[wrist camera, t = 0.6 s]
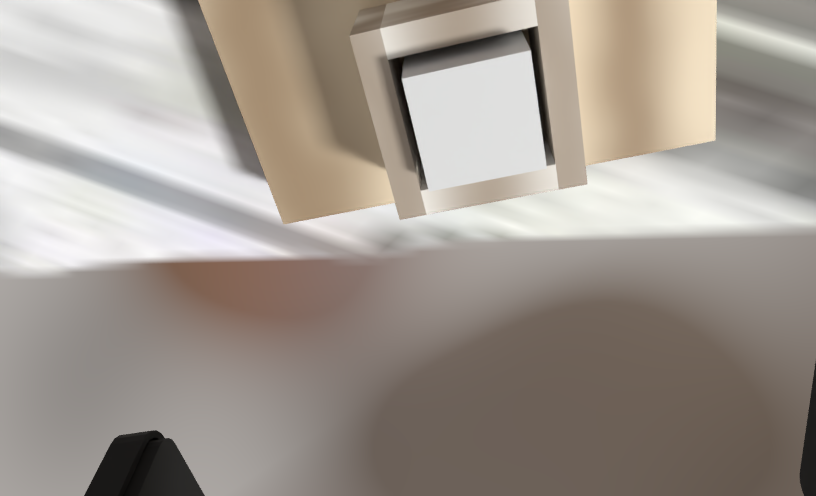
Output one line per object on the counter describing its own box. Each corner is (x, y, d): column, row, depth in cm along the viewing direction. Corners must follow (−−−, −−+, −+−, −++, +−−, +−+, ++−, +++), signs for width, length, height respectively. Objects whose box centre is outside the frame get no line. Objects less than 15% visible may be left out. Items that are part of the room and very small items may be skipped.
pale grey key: (519, 26, 22) (530, 50, 20) (534, 133, 25) (546, 168, 22) (404, 51, 23) (401, 78, 21) (429, 155, 25) (428, 191, 23)
